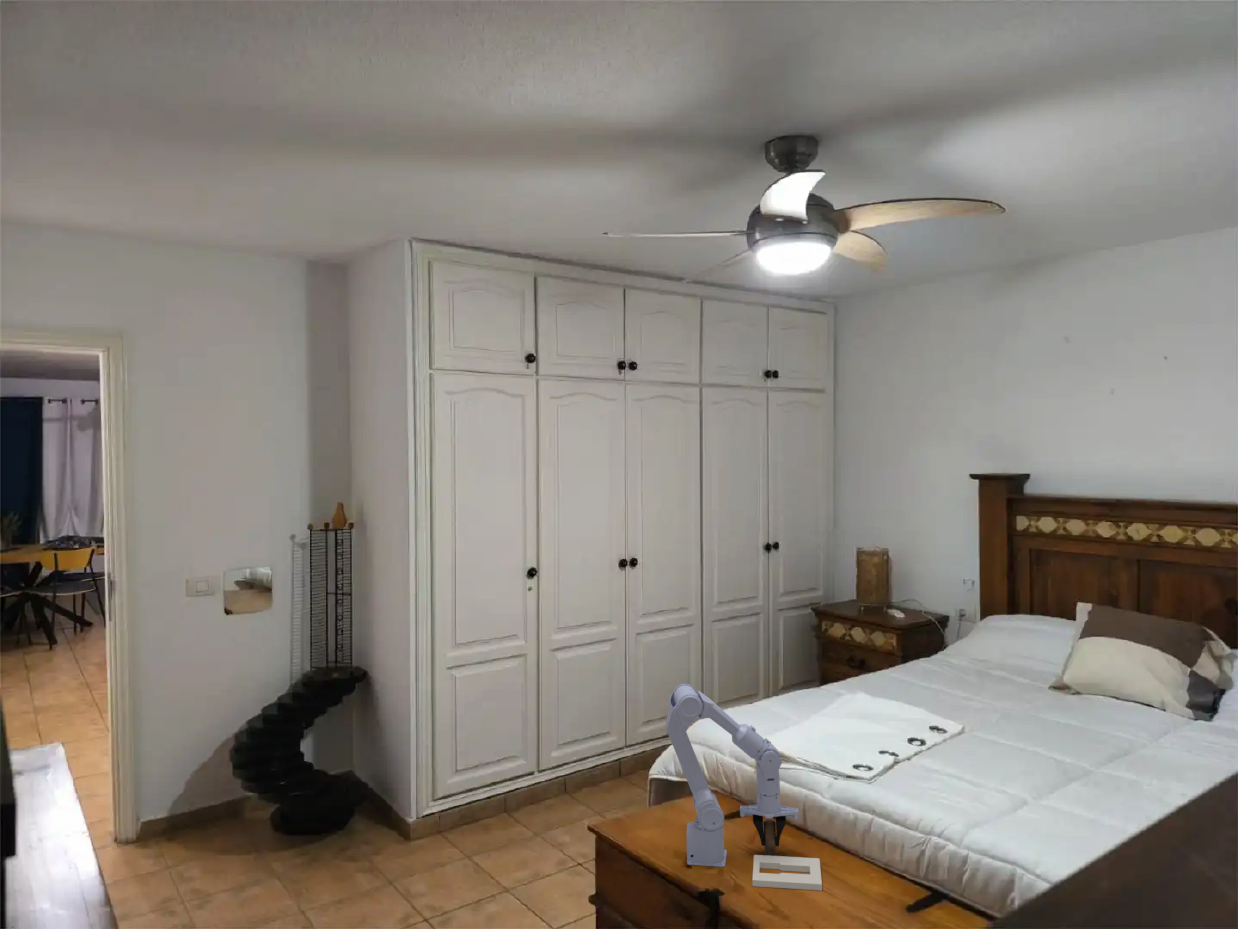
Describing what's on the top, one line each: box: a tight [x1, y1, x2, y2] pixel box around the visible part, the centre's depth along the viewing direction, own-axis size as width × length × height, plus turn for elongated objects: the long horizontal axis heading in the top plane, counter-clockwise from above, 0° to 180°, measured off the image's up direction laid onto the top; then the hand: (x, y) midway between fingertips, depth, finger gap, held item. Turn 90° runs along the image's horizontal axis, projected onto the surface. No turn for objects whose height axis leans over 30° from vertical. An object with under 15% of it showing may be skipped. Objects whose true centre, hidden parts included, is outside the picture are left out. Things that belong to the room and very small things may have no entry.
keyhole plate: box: [752, 854, 823, 892], centre depth 202 cm, size 16×12×2 cm
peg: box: [763, 819, 777, 856], centre depth 213 cm, size 3×3×8 cm
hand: (770, 844), depth 213 cm, fingers closed on peg, 3 cm apart
